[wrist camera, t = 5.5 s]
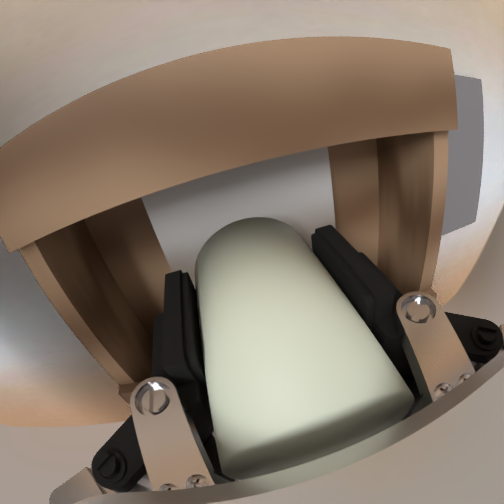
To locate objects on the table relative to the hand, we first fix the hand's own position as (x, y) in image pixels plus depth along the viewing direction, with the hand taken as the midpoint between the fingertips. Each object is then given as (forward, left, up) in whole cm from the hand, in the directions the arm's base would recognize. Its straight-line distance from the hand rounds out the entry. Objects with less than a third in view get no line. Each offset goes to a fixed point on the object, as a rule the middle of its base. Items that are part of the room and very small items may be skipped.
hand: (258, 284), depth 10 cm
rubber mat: (-1, +15, -6) cm, 17 cm away
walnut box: (0, 0, -6) cm, 6 cm away
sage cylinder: (0, 0, -1) cm, 1 cm away
